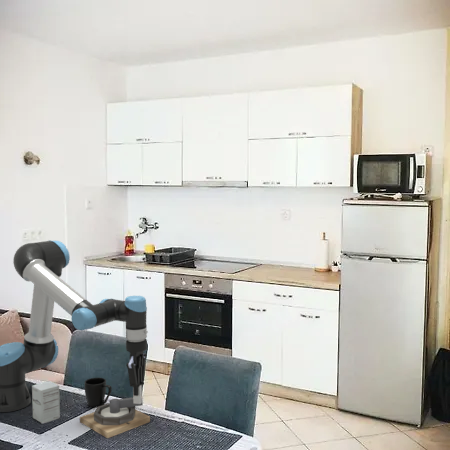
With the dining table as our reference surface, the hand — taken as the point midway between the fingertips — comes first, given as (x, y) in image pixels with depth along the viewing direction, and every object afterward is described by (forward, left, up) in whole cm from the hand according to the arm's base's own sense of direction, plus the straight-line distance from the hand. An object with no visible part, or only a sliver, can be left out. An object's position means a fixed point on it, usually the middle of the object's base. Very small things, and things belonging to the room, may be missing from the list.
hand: (137, 402), depth 198 cm
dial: (-4, -4, -5) cm, 7 cm away
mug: (-23, -2, -7) cm, 24 cm away
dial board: (-6, -6, -7) cm, 11 cm away
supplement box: (-27, -22, -7) cm, 35 cm away
